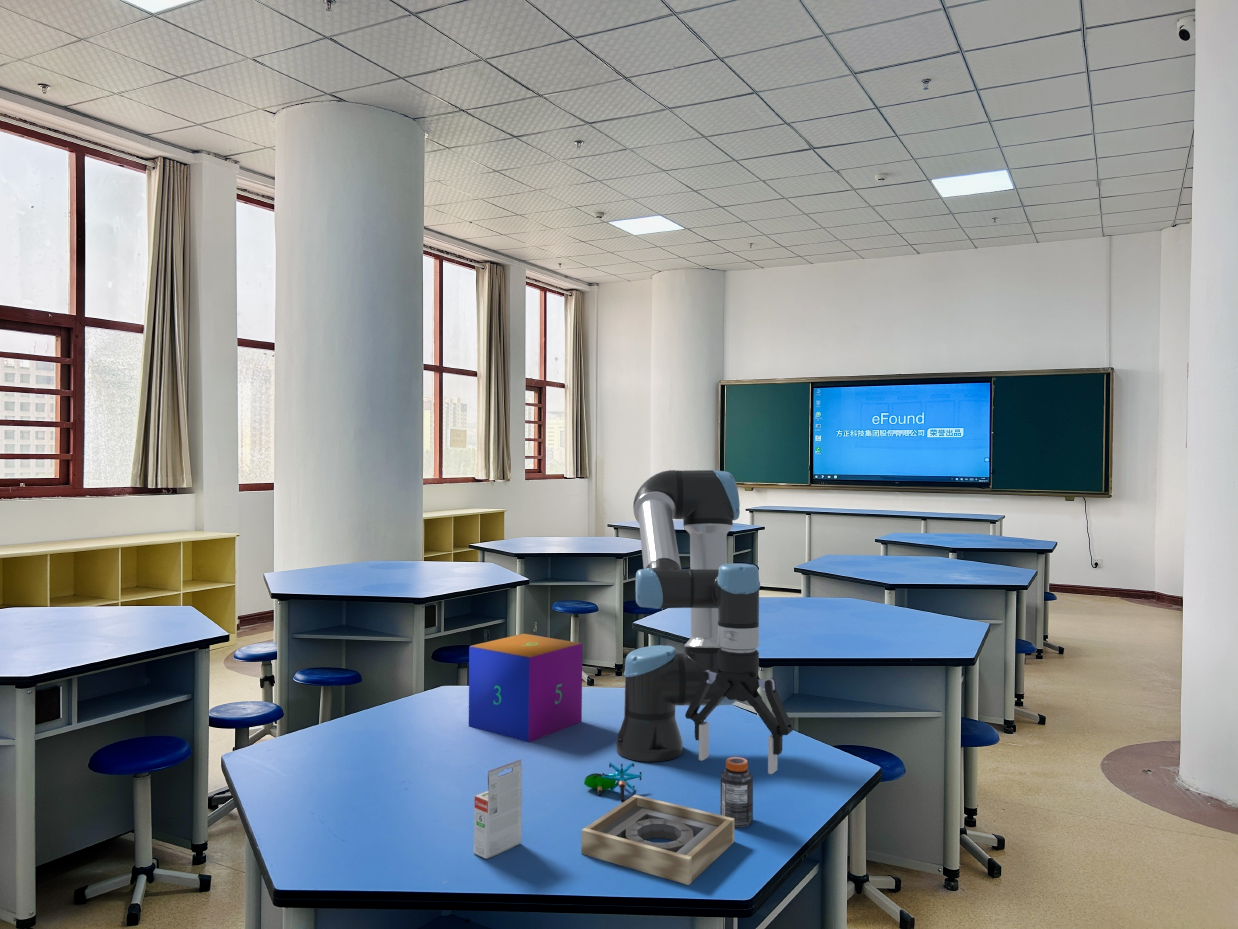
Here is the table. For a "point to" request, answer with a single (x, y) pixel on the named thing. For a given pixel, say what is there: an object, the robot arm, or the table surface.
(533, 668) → the cube
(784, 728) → the robot arm
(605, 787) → the stick construction toy
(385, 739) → the table surface
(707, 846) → the bore box
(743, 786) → the pill bottle
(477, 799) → the ink box
